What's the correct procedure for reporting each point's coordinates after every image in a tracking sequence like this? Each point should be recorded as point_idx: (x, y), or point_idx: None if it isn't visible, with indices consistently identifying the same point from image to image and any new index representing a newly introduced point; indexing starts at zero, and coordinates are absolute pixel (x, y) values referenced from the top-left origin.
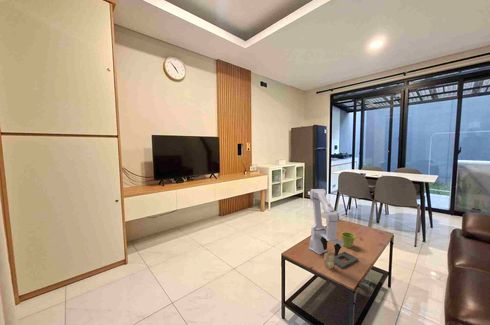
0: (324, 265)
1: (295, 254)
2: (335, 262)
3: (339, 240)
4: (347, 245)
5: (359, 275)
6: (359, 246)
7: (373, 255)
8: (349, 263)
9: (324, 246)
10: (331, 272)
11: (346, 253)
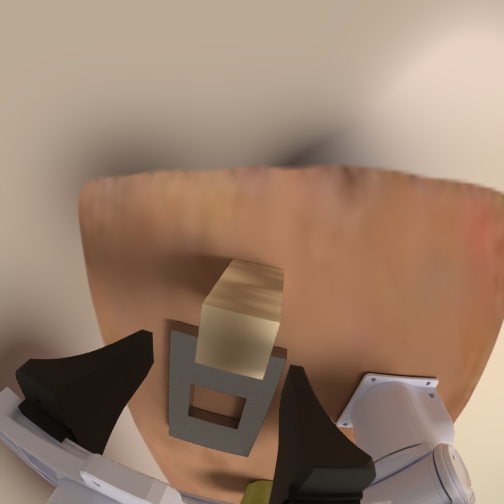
0: (279, 271)
1: (490, 255)
2: None
3: (50, 482)
4: (259, 488)
5: (101, 317)
6: (229, 493)
7: (163, 467)
8: (169, 383)
9: (293, 400)
10: (205, 231)
11: (230, 449)
